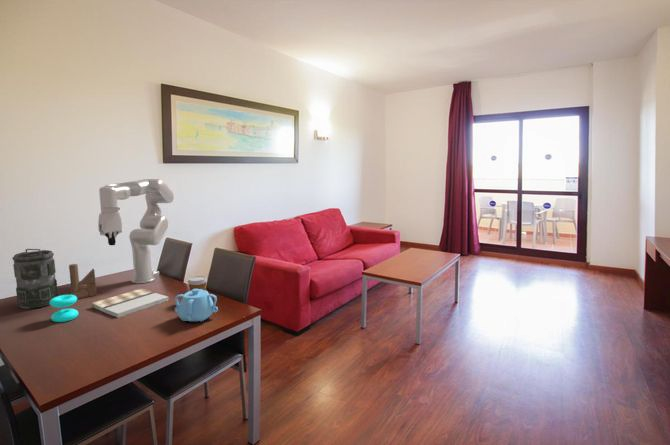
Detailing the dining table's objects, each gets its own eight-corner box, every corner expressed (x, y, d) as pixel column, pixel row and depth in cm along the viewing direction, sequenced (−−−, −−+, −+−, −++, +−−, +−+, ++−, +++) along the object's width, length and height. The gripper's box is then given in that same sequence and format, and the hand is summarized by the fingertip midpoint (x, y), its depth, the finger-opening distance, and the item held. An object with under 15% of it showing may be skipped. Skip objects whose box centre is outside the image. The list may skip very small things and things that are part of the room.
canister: (9, 309, 177) (2, 252, 173) (35, 297, 193) (29, 245, 189) (42, 309, 177) (36, 252, 173) (66, 298, 193) (60, 245, 189)
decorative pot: (172, 316, 172) (170, 288, 170) (206, 308, 182) (205, 281, 180) (185, 328, 160) (183, 298, 158) (220, 318, 170) (219, 290, 168)
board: (154, 296, 198) (154, 291, 197) (168, 300, 192) (168, 295, 191) (103, 312, 176) (103, 307, 175) (118, 317, 170) (117, 312, 169)
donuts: (82, 294, 171) (63, 302, 161) (84, 315, 172) (65, 324, 162) (63, 293, 172) (43, 300, 162) (65, 313, 174) (45, 322, 164)
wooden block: (96, 295, 198) (93, 262, 195) (72, 299, 191) (68, 266, 188) (95, 293, 201) (92, 261, 198) (71, 297, 194) (68, 264, 191)
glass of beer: (197, 296, 198) (196, 274, 196) (212, 298, 195) (211, 276, 193) (184, 302, 189) (183, 279, 187) (199, 305, 186) (198, 282, 184)
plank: (142, 291, 203) (142, 288, 203) (153, 295, 198) (153, 292, 198) (91, 306, 181) (91, 302, 180) (103, 311, 176) (102, 307, 175)
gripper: (119, 208, 201) (122, 241, 204) (90, 211, 189) (93, 246, 191) (127, 209, 198) (130, 243, 201) (98, 212, 185) (101, 248, 188)
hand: (112, 244), depth 196 cm, fingers closed
